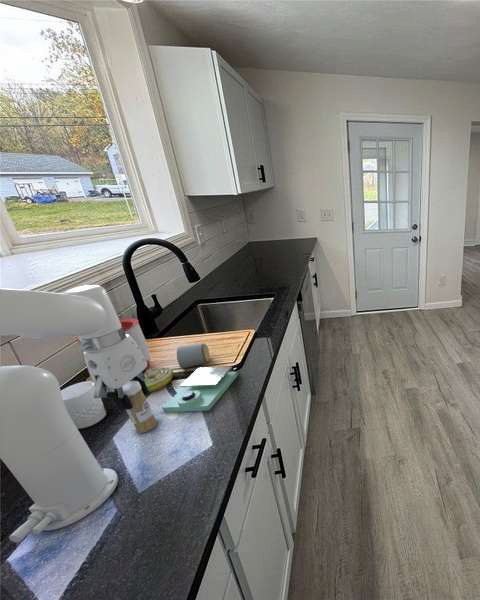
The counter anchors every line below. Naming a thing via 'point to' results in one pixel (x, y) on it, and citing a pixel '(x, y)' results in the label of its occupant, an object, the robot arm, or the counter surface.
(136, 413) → the sprinkles bottle
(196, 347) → the ceramic mug
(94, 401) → the white cup
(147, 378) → the decorated donut
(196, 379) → the scale pan
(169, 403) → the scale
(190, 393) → the tare button
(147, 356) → the citrus juicer
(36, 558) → the counter surface
